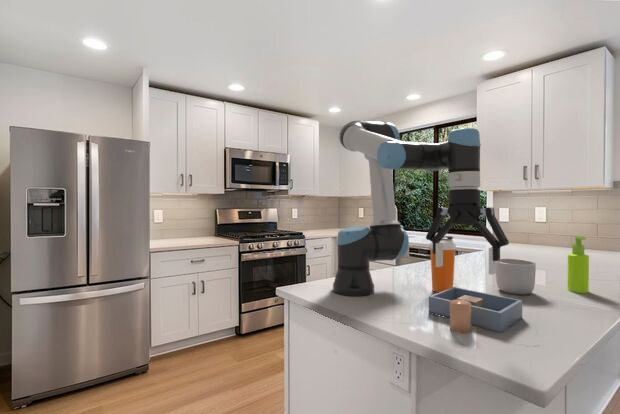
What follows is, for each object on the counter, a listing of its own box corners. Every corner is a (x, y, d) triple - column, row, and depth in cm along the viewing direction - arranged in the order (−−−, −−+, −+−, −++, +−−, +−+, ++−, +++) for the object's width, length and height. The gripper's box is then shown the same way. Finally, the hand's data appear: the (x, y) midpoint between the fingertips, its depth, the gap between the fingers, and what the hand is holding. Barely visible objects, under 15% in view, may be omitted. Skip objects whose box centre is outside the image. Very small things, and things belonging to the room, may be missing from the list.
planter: (512, 286, 128) (512, 257, 127) (544, 294, 116) (544, 263, 116) (487, 289, 124) (487, 259, 124) (517, 298, 112) (517, 266, 112)
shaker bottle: (458, 294, 117) (458, 237, 116) (431, 293, 118) (431, 237, 118) (452, 288, 125) (452, 235, 125) (427, 287, 127) (427, 234, 127)
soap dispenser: (571, 293, 117) (572, 236, 117) (565, 288, 124) (565, 234, 123) (592, 294, 115) (593, 237, 115) (584, 289, 122) (585, 235, 121)
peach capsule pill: (446, 329, 86) (446, 302, 86) (455, 324, 89) (455, 298, 89) (465, 335, 82) (465, 306, 82) (474, 329, 85) (474, 302, 85)
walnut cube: (457, 316, 94) (457, 298, 94) (464, 312, 97) (464, 295, 97) (475, 320, 90) (475, 302, 90) (482, 316, 93) (482, 298, 93)
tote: (428, 313, 98) (428, 296, 98) (453, 302, 108) (453, 286, 108) (500, 332, 83) (501, 313, 83) (522, 318, 93) (522, 300, 93)
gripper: (413, 190, 94) (413, 265, 94) (513, 186, 75) (513, 279, 75) (426, 190, 99) (427, 261, 99) (523, 187, 80) (523, 274, 81)
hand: (464, 269), depth 87 cm, fingers open, 13 cm apart
